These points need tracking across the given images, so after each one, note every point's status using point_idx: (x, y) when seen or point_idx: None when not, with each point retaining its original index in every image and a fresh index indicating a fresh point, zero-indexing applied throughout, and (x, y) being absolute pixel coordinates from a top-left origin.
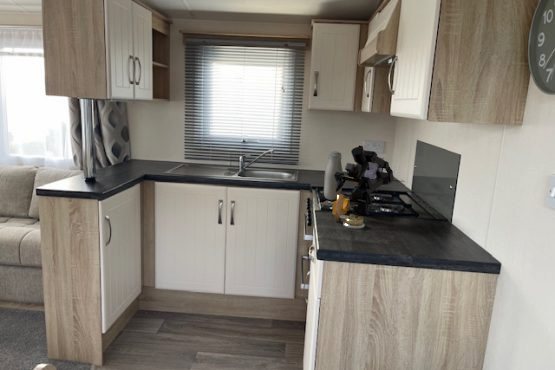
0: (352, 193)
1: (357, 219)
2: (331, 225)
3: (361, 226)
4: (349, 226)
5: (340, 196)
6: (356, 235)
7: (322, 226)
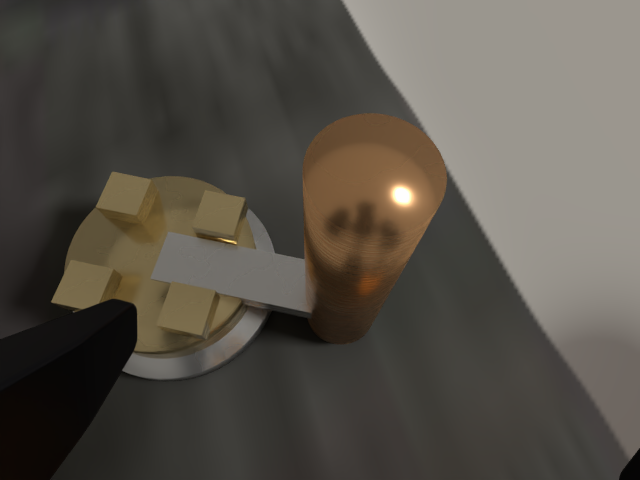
0: (128, 302)
1: (111, 178)
2: None
3: None
4: None
5: (349, 126)
6: (123, 75)
7: None
